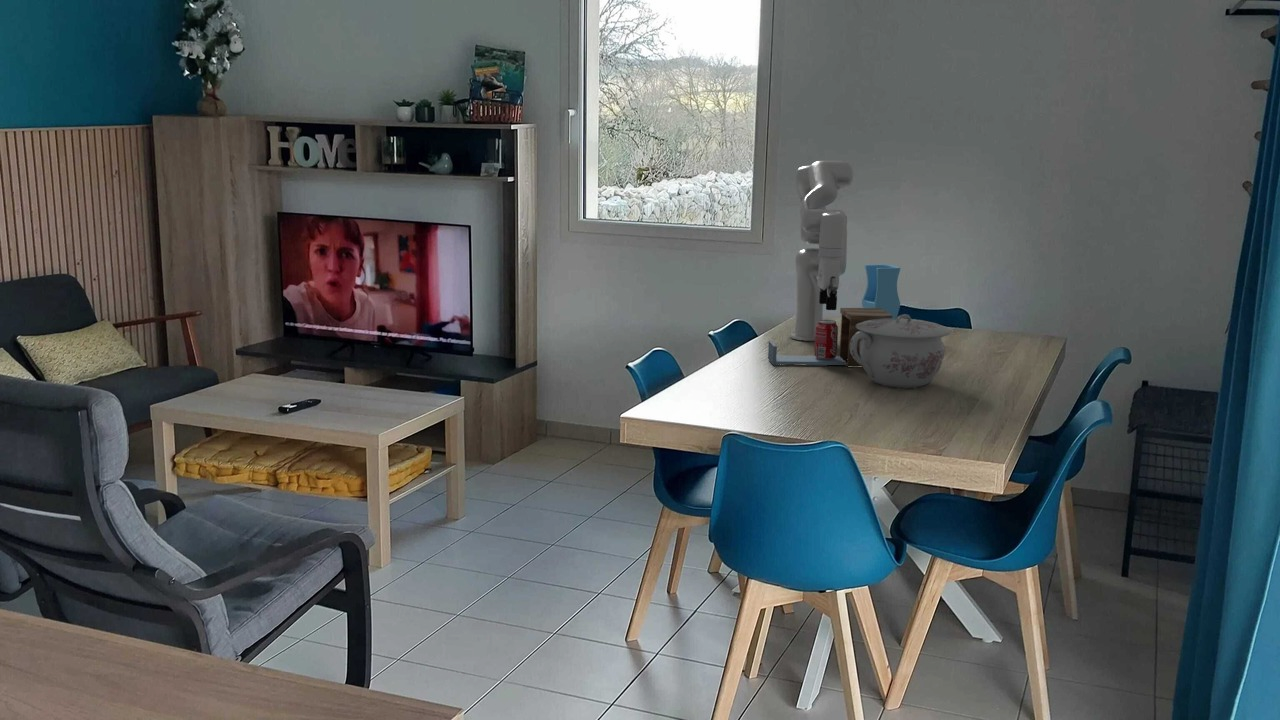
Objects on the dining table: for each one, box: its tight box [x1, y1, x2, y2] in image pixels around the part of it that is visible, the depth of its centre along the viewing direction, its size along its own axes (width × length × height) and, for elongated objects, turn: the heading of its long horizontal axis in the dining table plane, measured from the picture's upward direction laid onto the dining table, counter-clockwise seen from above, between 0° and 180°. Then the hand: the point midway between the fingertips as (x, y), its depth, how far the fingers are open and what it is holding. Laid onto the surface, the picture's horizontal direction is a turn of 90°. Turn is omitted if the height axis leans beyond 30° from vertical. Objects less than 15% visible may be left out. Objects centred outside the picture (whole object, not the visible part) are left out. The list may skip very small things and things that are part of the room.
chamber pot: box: [849, 313, 952, 389], centre depth 335 cm, size 28×28×21 cm
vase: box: [861, 263, 901, 318], centre depth 408 cm, size 10×10×25 cm
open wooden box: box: [838, 307, 892, 367], centre depth 362 cm, size 14×13×17 cm
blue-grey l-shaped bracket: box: [767, 340, 847, 366], centre depth 362 cm, size 9×23×6 cm, turn 93°
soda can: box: [813, 319, 839, 360], centre depth 362 cm, size 7×7×12 cm
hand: (827, 306), depth 360 cm, fingers open, 9 cm apart
